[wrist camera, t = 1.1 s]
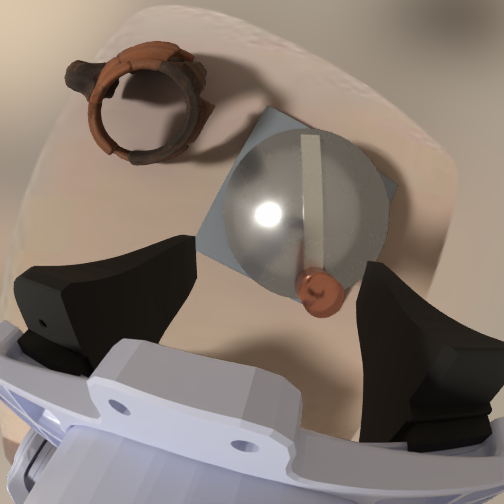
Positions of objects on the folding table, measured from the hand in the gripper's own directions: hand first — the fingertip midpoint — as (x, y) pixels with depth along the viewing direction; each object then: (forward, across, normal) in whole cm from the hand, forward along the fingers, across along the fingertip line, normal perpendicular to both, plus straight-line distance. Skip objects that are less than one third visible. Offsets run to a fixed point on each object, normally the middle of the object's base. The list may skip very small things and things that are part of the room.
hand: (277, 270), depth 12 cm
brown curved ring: (+11, +12, -7) cm, 18 cm away
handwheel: (+10, -1, +1) cm, 10 cm away
